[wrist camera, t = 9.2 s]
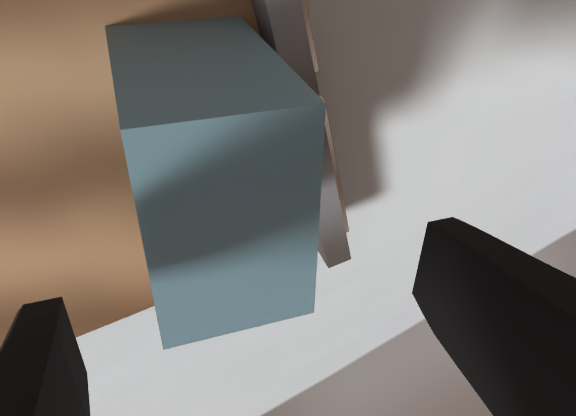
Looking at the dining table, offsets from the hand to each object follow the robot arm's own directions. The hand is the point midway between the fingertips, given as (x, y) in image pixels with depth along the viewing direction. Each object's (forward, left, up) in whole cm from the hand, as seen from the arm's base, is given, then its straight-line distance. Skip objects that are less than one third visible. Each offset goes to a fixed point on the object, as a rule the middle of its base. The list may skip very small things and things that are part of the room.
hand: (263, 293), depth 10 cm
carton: (0, 0, -9) cm, 9 cm away
